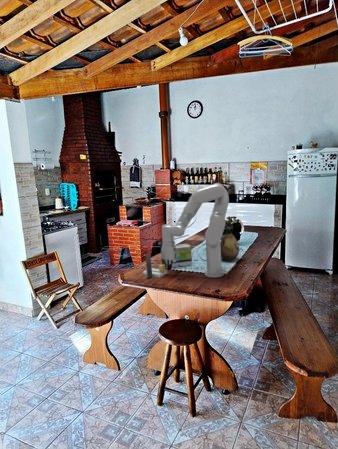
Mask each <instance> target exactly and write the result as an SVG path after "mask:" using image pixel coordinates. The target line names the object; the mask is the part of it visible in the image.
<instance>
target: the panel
mask: <svg viewBox="0 0 338 449" xmlns="http://www.w3.org/2000/svg"><path fill="white" fill-rule="evenodd" d="M167 273H168V270H166V269H165V271H163V272H161V271H159V267H152V278H154V277H155V278H158V277H159V279H160V278H161V277H163V276H165V275H166V274H167ZM142 275H143V276H147V269H146V270H144V271H142Z"/></svg>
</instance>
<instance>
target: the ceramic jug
mask: <svg viewBox="0 0 338 449" xmlns="http://www.w3.org/2000/svg"><path fill="white" fill-rule="evenodd" d="M225 228H226V232H225V234H223V236H222V237H221V240H220V244H221V262H226V263H227V262H228V263H229V262H234V261H235V260H236V259H237V257H238V256H239V253H240V246H239V243H238V241H237V239H236V237H235V236H234V234H233V233H232V228H233V224H232V220H231V219H227V223H225Z"/></svg>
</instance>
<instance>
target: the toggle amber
mask: <svg viewBox="0 0 338 449" xmlns="http://www.w3.org/2000/svg"><path fill="white" fill-rule="evenodd" d="M158 268H159V271H161V272H163V271H165V265H162V263H161V264H160V265H158Z"/></svg>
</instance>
